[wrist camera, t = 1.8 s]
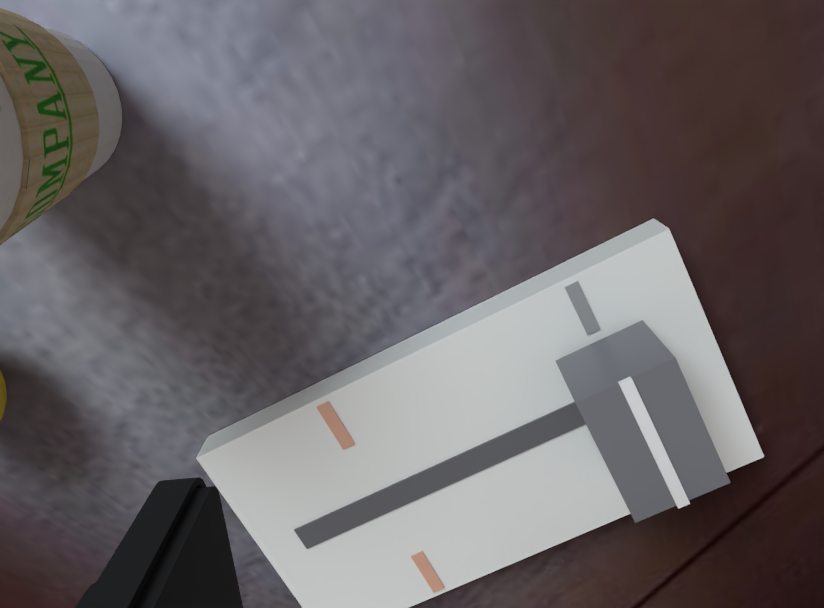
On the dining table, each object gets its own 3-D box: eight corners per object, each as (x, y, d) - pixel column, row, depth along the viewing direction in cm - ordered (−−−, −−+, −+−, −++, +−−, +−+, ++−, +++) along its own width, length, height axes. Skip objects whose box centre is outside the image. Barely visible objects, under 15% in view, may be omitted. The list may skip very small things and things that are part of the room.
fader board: (653, 218, 31) (670, 229, 29) (744, 435, 34) (765, 458, 32) (208, 436, 35) (195, 459, 33) (331, 613, 38) (327, 643, 36)
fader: (641, 319, 30) (676, 358, 26) (692, 432, 32) (732, 486, 28) (554, 359, 31) (575, 404, 27) (609, 469, 32) (636, 526, 28)
